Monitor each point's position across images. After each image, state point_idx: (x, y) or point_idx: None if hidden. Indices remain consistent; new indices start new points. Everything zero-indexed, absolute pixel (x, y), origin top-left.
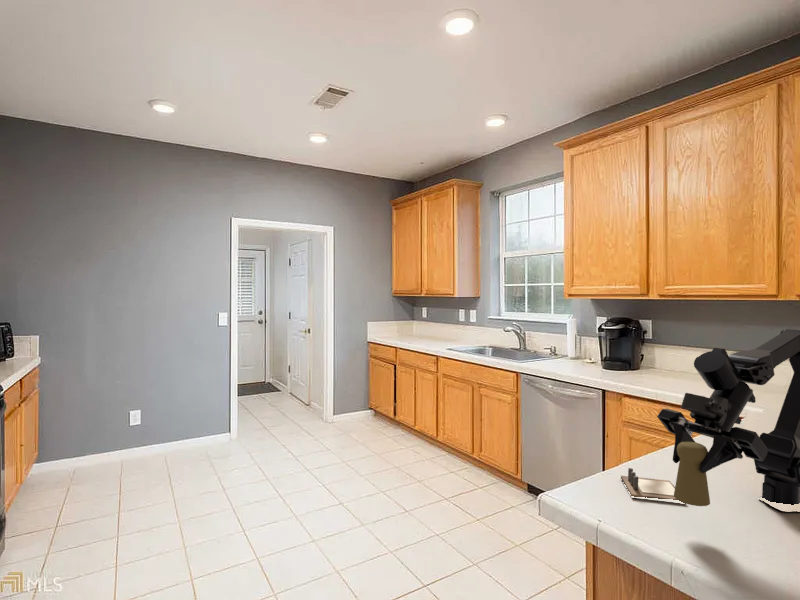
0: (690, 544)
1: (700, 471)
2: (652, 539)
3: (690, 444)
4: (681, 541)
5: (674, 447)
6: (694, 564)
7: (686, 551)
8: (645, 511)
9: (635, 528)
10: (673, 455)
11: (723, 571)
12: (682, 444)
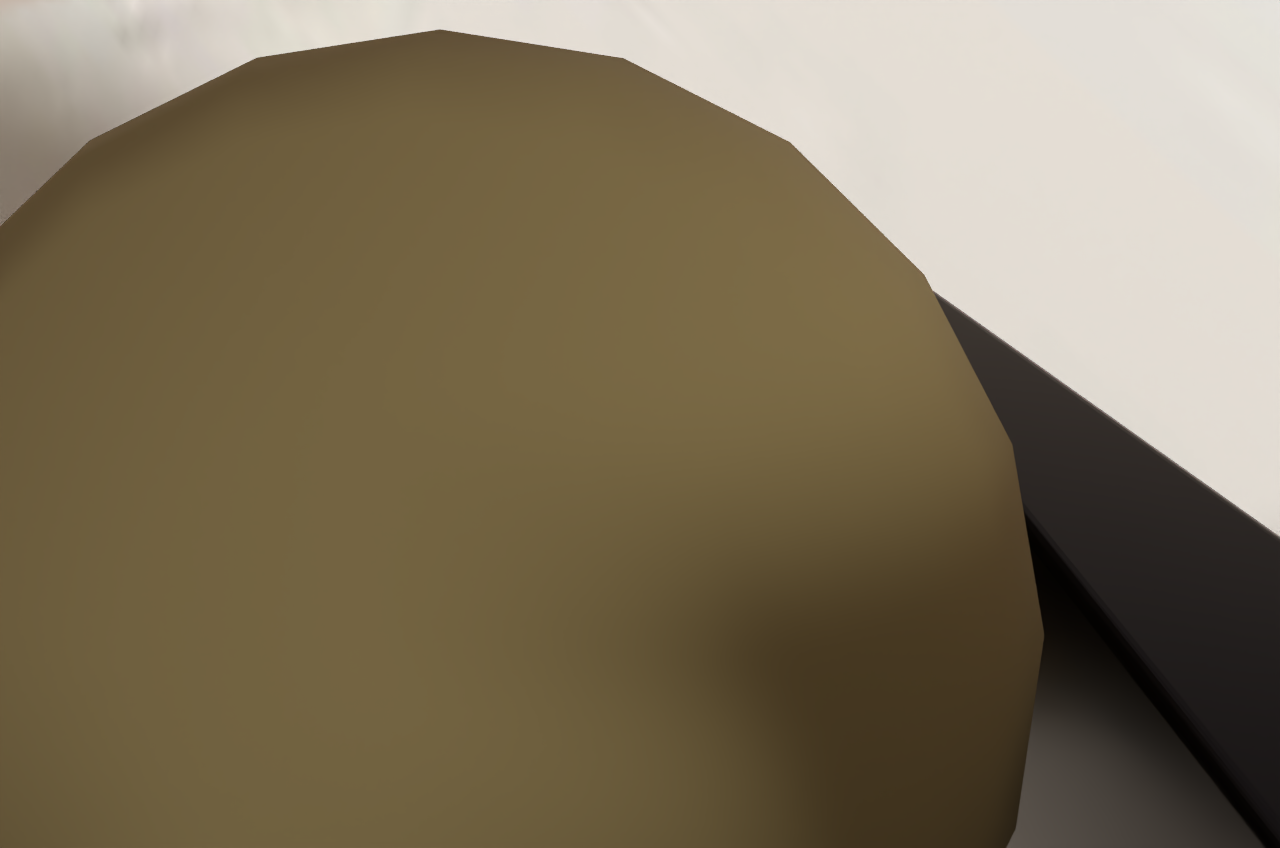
0: None
1: None
2: (606, 5)
3: (267, 374)
4: None
5: (1180, 474)
6: (163, 35)
7: None
8: (1115, 417)
9: (828, 6)
10: (979, 330)
11: (10, 192)
12: (572, 135)
